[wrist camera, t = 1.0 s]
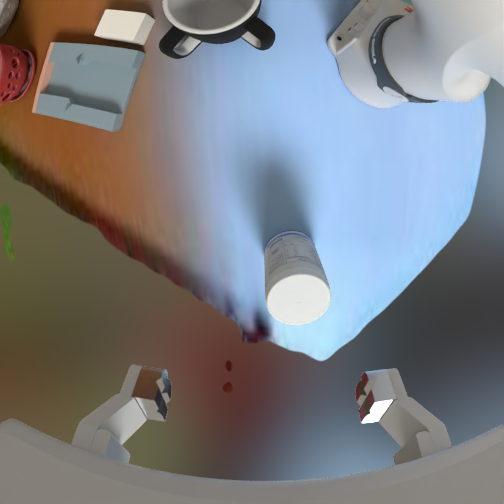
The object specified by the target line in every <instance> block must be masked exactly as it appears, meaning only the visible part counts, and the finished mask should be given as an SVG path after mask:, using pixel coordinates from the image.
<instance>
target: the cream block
mask: <svg viewBox="0 0 504 504" xmlns="http://www.w3.org/2000/svg"><path fill="white" fill-rule="evenodd" d="M154 22H155V20H154V19H153V18H152V17H150V16H149V15H147V14H146V13H138V12H130V11H121V10H109V9H106V10H105V12H104V15H103V17H102V19H101V21H100V23H99V25H98V28H97V30H96V32H95V34H94V35H95V36H98V37H101V38H104V39H109V40H116V41H122V42H128V43H134V44H139V45H144V43H145V41H146V39H147V37H148V34H149V32H150V30H151V28H152V26H153V24H154Z"/></svg>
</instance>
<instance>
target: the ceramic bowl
mask: <svg viewBox="0 0 504 504" xmlns="http://www.w3.org/2000/svg"><path fill="white" fill-rule="evenodd" d="M18 5H19V0H0V38H1V37H2V36H3V35H4V34H5V32H6V31H7V29H8V27H9V26H10V24H11V22H12V19H13V17H14V15H15V13H16V11H17V8H18Z"/></svg>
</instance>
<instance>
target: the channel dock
mask: <svg viewBox="0 0 504 504" xmlns="http://www.w3.org/2000/svg"><path fill="white" fill-rule="evenodd" d="M145 55H146V53H143V52H141V51H138V50H132V49H125V48H118V47H110V46H102V45H92V44H79V43H57V42H51V44H50V47H49V50H48V53H47V56H46V59H45V62H44V65H43V69H42V72H41V76H40V79H39V83H38V87H37V91H36V96H35V100H34V105H33V110H32V112H33V113H38V114H42V115H47V116H52V117H56V118H60V119H65V120H69V121H73V122H77V123H81V124H85V125H89V126H93V127H97V128H101V129H104V130H108V131H112V132H113V131H117V130H121V126H122V123H123V119H124V116H125V112H126V109H127V106H128V102H129V99H130V96H131V93H132V90H133V87H134V84H135V81H136V78H137V76H138V73H139V70H140V67H141V65H142V62H143V60H144V57H145Z"/></svg>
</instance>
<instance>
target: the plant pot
mask: <svg viewBox="0 0 504 504" xmlns="http://www.w3.org/2000/svg"><path fill="white" fill-rule="evenodd" d="M35 69H36V62H35V58H34V55H33V54H32V53H31V52H30V51H29V50H26V49H23V50H20V49H18V48H16V47H13V46H10V45H5V44H0V105H2V104H4V103H6V102H8V101H9V102H15V101H17V100H19V99H20V98H22V97H23V96H24V95H25V94H26V92H27V91H28V90H29V88H30V86H31V84H32V81H33V79H34V75H35Z"/></svg>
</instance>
